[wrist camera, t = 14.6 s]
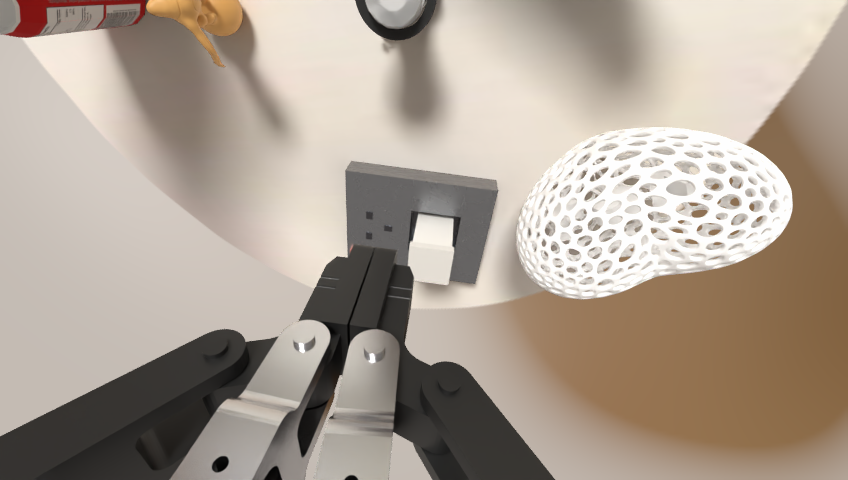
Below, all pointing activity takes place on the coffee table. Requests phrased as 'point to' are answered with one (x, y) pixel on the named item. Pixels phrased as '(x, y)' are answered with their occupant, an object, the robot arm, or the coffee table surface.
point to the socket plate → (407, 196)
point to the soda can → (66, 16)
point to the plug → (432, 248)
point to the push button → (395, 16)
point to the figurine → (201, 18)
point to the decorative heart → (648, 210)
